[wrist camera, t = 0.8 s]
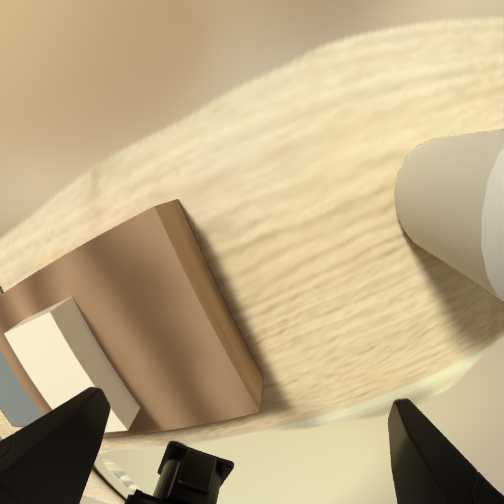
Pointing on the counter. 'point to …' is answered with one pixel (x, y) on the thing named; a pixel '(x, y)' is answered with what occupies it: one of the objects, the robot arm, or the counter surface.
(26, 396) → the mat
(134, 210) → the counter surface
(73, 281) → the block
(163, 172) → the counter surface
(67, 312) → the tile
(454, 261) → the can
